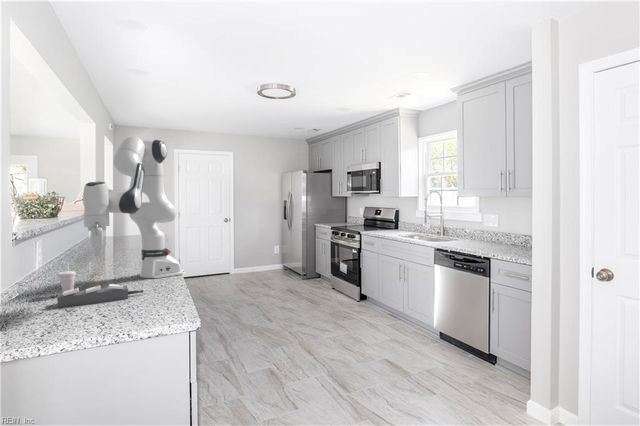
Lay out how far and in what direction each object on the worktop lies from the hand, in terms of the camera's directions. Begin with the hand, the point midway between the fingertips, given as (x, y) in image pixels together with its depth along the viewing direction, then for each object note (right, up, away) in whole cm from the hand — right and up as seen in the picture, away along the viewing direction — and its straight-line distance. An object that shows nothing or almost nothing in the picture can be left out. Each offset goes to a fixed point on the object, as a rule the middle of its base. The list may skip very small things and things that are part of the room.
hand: (97, 256), depth 148 cm
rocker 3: (+5, -14, +4) cm, 16 cm away
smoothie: (-20, -18, +11) cm, 29 cm away
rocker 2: (-2, -15, 0) cm, 15 cm away
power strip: (0, -18, +3) cm, 19 cm away
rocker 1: (-8, -15, -4) cm, 17 cm away
